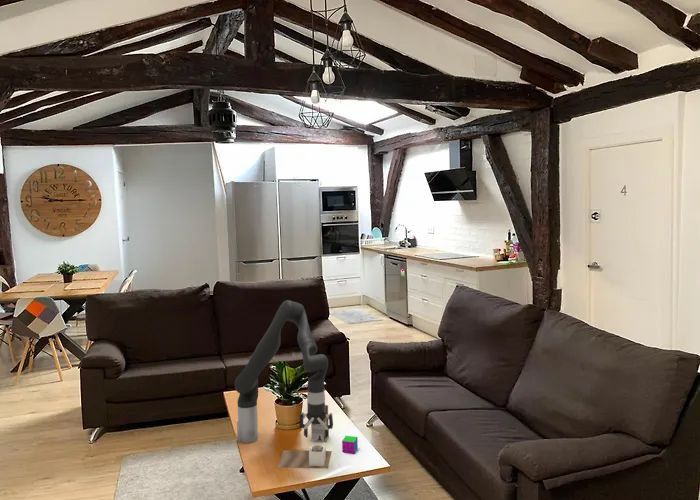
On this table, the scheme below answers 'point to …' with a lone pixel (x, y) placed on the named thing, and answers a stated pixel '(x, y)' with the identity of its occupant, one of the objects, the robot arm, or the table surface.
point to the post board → (301, 458)
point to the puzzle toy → (349, 444)
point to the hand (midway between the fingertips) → (316, 437)
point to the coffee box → (319, 430)
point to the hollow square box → (317, 457)
